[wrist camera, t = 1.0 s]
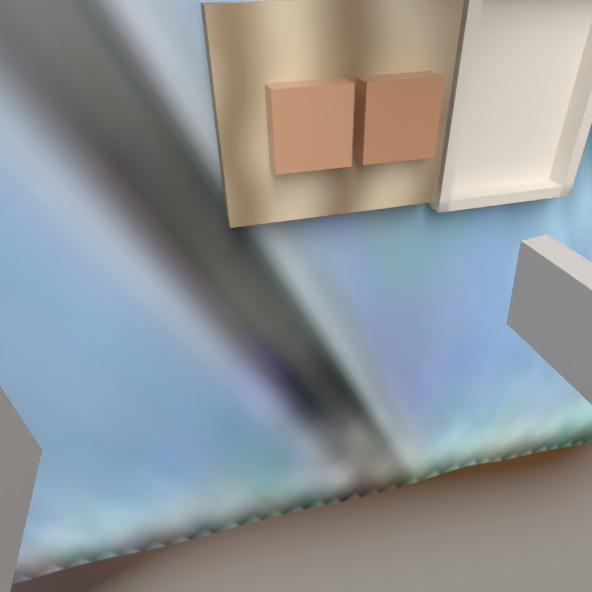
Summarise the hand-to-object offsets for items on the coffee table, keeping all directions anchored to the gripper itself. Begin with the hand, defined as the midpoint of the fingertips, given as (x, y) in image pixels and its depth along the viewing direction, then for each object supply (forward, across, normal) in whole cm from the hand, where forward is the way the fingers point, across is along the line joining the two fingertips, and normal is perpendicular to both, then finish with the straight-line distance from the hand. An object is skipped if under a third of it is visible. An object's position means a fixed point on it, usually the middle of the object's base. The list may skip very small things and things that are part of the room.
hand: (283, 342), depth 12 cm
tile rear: (+18, +11, 0) cm, 21 cm away
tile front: (+18, +6, 0) cm, 19 cm away
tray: (+20, +20, -1) cm, 29 cm away
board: (+21, +8, 0) cm, 22 cm away
